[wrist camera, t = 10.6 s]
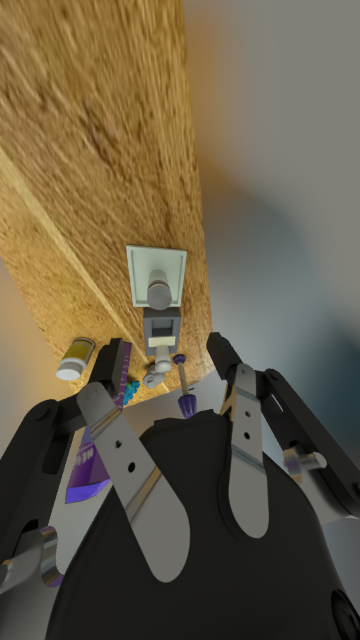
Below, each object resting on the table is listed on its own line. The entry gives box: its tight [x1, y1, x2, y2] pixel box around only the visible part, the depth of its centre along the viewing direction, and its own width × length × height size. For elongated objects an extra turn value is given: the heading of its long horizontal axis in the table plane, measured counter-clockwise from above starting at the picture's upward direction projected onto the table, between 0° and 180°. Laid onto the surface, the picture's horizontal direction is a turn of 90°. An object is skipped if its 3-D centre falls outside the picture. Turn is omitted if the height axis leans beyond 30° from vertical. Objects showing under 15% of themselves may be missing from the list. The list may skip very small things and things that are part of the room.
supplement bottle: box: [56, 338, 95, 380], centre depth 29 cm, size 5×5×8 cm
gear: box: [123, 380, 140, 405], centre depth 44 cm, size 11×6×10 cm
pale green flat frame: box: [126, 245, 187, 307], centre depth 25 cm, size 11×10×2 cm
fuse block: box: [143, 308, 181, 373], centre depth 30 cm, size 12×8×10 cm, turn 174°
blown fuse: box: [147, 270, 172, 310], centre depth 22 cm, size 4×4×8 cm
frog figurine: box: [142, 365, 166, 389], centre depth 40 cm, size 6×7×7 cm
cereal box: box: [65, 342, 132, 504], centre depth 29 cm, size 17×5×24 cm, turn 154°
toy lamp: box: [173, 354, 196, 419], centre depth 36 cm, size 5×5×17 cm
